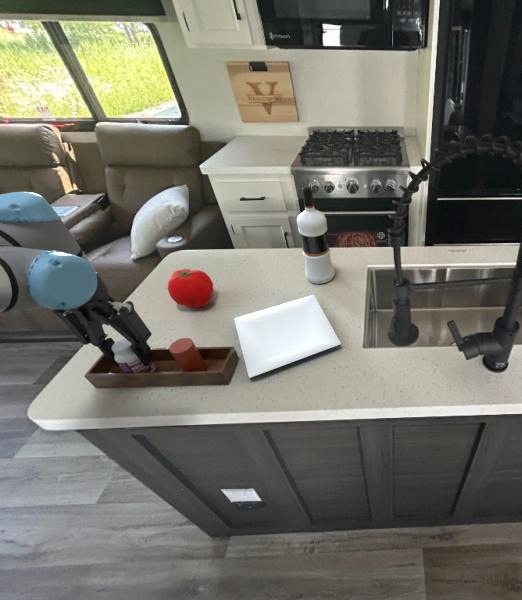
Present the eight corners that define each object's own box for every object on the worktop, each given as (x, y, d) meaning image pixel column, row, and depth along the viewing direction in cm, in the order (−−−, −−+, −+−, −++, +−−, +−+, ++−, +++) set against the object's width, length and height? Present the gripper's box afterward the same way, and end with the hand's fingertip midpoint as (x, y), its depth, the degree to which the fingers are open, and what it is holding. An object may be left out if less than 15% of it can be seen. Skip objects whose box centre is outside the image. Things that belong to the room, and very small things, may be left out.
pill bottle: (143, 383, 74) (121, 356, 68) (124, 378, 75) (100, 351, 69) (162, 365, 78) (142, 337, 72) (143, 360, 79) (122, 333, 73)
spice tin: (189, 382, 75) (172, 356, 69) (182, 370, 77) (166, 344, 72) (210, 371, 77) (195, 346, 71) (203, 360, 80) (189, 334, 74)
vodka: (320, 288, 103) (305, 197, 83) (300, 278, 107) (281, 188, 87) (340, 275, 109) (330, 186, 89) (320, 265, 113) (307, 178, 93)
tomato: (192, 319, 91) (176, 291, 84) (167, 302, 96) (151, 274, 89) (228, 298, 98) (216, 271, 91) (203, 283, 103) (190, 256, 97)
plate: (314, 299, 99) (313, 293, 98) (341, 348, 84) (341, 343, 83) (235, 323, 90) (233, 317, 89) (251, 382, 76) (248, 377, 74)
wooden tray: (95, 388, 73) (83, 376, 71) (116, 360, 79) (106, 348, 77) (228, 384, 75) (222, 372, 72) (239, 358, 81) (234, 346, 78)
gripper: (136, 267, 63) (184, 348, 78) (34, 268, 61) (103, 349, 77) (112, 292, 57) (169, 374, 72) (-1, 293, 56) (81, 376, 71)
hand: (135, 361), depth 74 cm, fingers closed on pill bottle, 5 cm apart
